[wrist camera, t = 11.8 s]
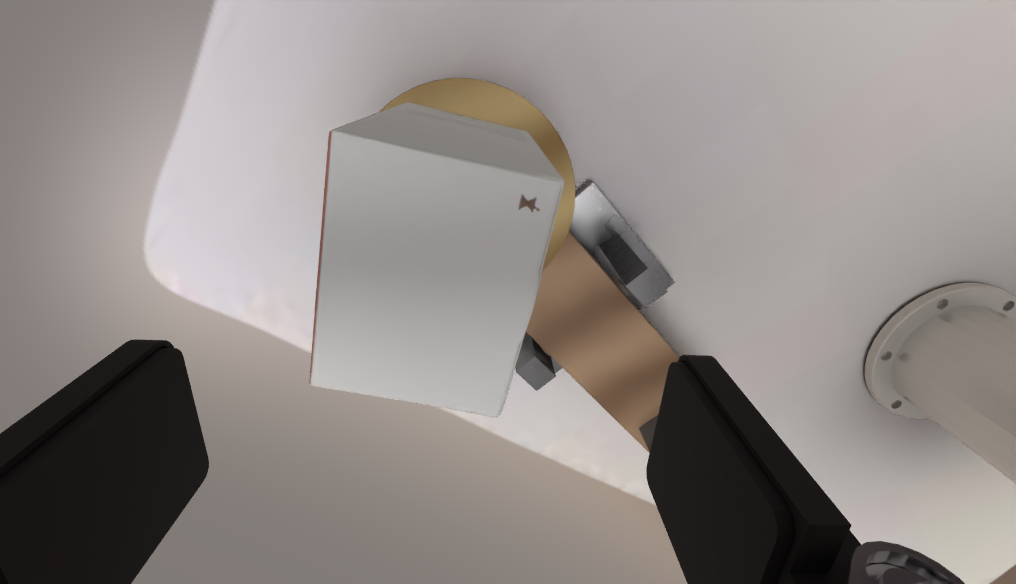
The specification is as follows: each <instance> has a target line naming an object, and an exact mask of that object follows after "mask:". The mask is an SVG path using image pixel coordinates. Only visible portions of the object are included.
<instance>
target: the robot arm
mask: <svg viewBox="0 0 1016 584" xmlns="http://www.w3.org/2000/svg"><path fill="white" fill-rule="evenodd" d="M865 380H866V384H867V388H868V390H869V391H870V393H871V395H872V396H873V397H874V398H875V399H876V400H877V401H878V402H879V403H880V404H881V405H882V406H883V407H885V408H886V409H887V410H888V411H890V412H892V413H894V414H897V415H899V416H902V417H907V418H912V419H927V418H930V419H932V420H933V421H934V422H936V423H937V424H938V425H940V426H941V427H942V428H943V429H945V430H946V431H947V432H949V433H950V434H951V435H953V436H954V437H955V438H957V439H958V440H959V441H960V442H962V443H963V444H964V445H966V446H967V447H968V448H970V449H971V450H972V451H974V452H975V453H976V454H977V455H979V456H980V457H981V458H983V459H984V460H985V461H987V462H988V463H989V464H991V465H992V466H993V467H994V468H996V469H997V470H998V471H1000V472H1001V473H1002V474H1004V475H1005V476H1006V477H1008V478H1009V479H1010V480H1011V481H1013V482H1014V483H1015V484H1016V298H1015V297H1014V296H1013V295H1011V294H1010V293H1008V292H1006V291H1003V290H1001V289H999V288H996V287H994V286H990V285H986V284H982V283H960V284H953V285H949V286H945V287H942V288H939V289H936V290H933V291H931V292H929V293H927V294H925V295H923V296H920V297H919V298H917V299H916V300H914V301H912V302H911V303H909V304H908V305H906V306H905V307H904V308H902V309H901V310H900V311H899V312H898V313H896V314H895V315H894V316H893V317H892V318H891V319H890V320H889V321H888V322H887V323H886V324H885V326H884V327H883V328H882V329H881V331H880V332H879V334H878V335H877V337H876V338H875V339H874V341H873V343H872V346H871V348H870V350H869V352H868V355H867V359H866V363H865ZM208 467H209V460H208V455H207V451H206V447H205V443H204V439H203V435H202V431H201V427H200V423H199V419H198V415H197V410H196V406H195V402H194V398H193V394H192V390H191V386H190V382H189V378H188V374H187V370H186V366H185V362H184V358H183V355H182V352H181V351H180V350H178V349H176V348H174V346H173V345H172V344H171V343H170V342H168V341H166V340H165V341H164V340H130V341H128V342H126V343H125V344H123V345H122V346H121V347H119V348H118V349H116V350H115V351H114V352H112V353H111V354H110V355H108V356H107V357H105V358H104V359H103V360H101V361H100V362H98V363H97V364H96V365H94V366H93V367H92V368H90V369H89V370H87V371H86V372H85V373H83V374H82V375H81V376H79V377H78V378H76V379H75V380H74V381H72V382H71V383H70V384H68V385H67V386H65V387H64V388H63V389H61V390H60V391H58V392H57V393H56V394H54V395H53V396H52V397H51V398H49V399H47V400H46V401H45V402H43V403H42V404H41V405H39V406H38V407H36V408H35V409H34V410H33V411H31V412H30V413H28V414H27V415H25V416H24V417H23V418H21V419H20V420H19V421H17V422H16V423H14V424H13V425H12V426H10V427H9V428H8V429H6V430H5V431H3V432H2V433H1V434H0V584H131V583H132V581H133V580H134V579H135V577H136V576H137V574H138V573H139V571H140V570H141V569H142V567H143V566H144V565H145V563H146V562H147V560H148V559H149V557H150V556H151V554H152V553H153V552H154V550H155V549H156V547H157V546H158V545H159V543H160V542H161V540H162V539H163V538H164V536H165V535H166V533H167V532H168V531H169V529H170V528H171V526H172V525H173V524H174V522H175V521H176V519H177V518H178V516H179V515H180V514H181V512H182V511H183V509H184V508H185V507H186V505H187V503H188V502H189V501H190V499H191V498H192V497H193V495H194V494H195V492H196V491H197V489H198V488H199V487H200V485H201V484H202V483H203V481H204V479H205V477H206V475H207V472H208ZM647 481H648V485H649V488H650V490H651V493H652V495H653V498H654V500H655V503H656V506H657V508H658V510H659V513H660V515H661V518H662V521H663V523H664V525H665V528H666V531H667V533H668V536H669V538H670V540H671V543H672V546H673V548H674V551H675V553H676V556H677V558H678V561H679V563H680V566H681V568H682V571H683V573H684V576H685V578H686V581H687V583H688V584H965V583H964V582H963V581H962V580H961V579H960V578H959V577H957V576H956V575H954V574H953V573H952V572H950V571H949V570H948V569H946V568H945V567H943V566H942V565H941V564H939V563H938V562H936V561H934V560H932V559H930V558H928V557H927V556H925V555H923V554H921V553H919V552H917V551H915V550H912V549H909V548H907V547H904V546H901V545H899V544H894V543H888V542H883V541H876V542H866V543H864V544H862V545H861V544H860V543H859V541H858V540H857V539H856V538H855V536H854V535H853V534H852V533H851V531H850V530H849V529H850V527H851V524H850V523H849V522H848V520H847V519H846V518H845V517H844V516H843V514H842V513H841V512H840V511H839V509H838V508H837V507H836V506H835V505H834V503H833V502H832V501H831V500H830V498H829V497H828V496H827V495H826V494H825V492H824V491H823V490H822V489H821V487H820V486H819V485H818V484H817V483H816V481H815V480H814V479H813V478H812V476H811V475H810V474H809V473H808V472H807V470H806V469H805V468H804V467H803V465H802V464H801V463H800V462H799V461H798V459H797V458H796V457H795V456H794V454H793V453H792V452H791V451H790V450H789V448H788V447H787V446H786V445H785V443H784V442H783V441H782V440H781V439H780V437H779V436H778V435H777V434H776V432H775V431H774V430H773V429H772V428H771V426H770V425H769V424H768V423H767V421H766V420H765V419H764V418H763V417H762V415H761V414H760V413H759V412H758V410H757V409H756V408H755V407H754V406H753V404H752V403H751V402H750V401H749V399H748V398H747V397H746V396H745V395H744V393H743V392H742V391H741V390H740V388H739V387H738V386H737V385H736V384H735V382H734V381H733V380H732V379H731V377H730V376H729V375H728V374H727V373H726V371H725V370H724V369H723V368H722V366H721V365H720V364H719V363H718V362H717V360H716V359H715V358H714V357H712V356H699V355H682V356H681V357H680V358H679V359H678V362H672V363H671V364H670V366H669V369H668V373H667V377H666V382H665V386H664V391H663V395H662V400H661V404H660V409H659V414H658V418H657V423H656V427H655V432H654V436H653V441H652V445H651V450H650V454H649V459H648V463H647Z"/></svg>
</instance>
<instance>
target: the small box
mask: <svg viewBox="0 0 1016 584" xmlns="http://www.w3.org/2000/svg"><path fill="white" fill-rule="evenodd" d="M564 184H565V182H564V179H563V178H562V176H561V175H560V174H559V173H558V171H557V170H556V169H555V167H554V166H553V165H552V163H551V162H550V161H549V159H548V158H547V157H546V155H545V154H544V153H543V151H542V150H541V149H540V147H539V146H538V145H537V143H536V142H535V141H534V139H533V138H532V137H531V135H530V134H529V133H528V132H527V131H525V130H521V129H516V128H512V127H508V126H504V125H500V124H496V123H492V122H488V121H484V120H479V119H475V118H471V117H467V116H463V115H459V114H455V113H451V112H447V111H443V110H439V109H435V108H431V107H427V106H423V105H418V104H414V103H410V102H407V103H404V104H401V105H398V106H395V107H392V108H389V109H387V110H384V111H382V112H379V113H376V114H373V115H371V116H368V117H365V118H363V119H360V120H357V121H355V122H352V123H349V124H346V125H344V126H341V127H339V128H336V129H334V130H331V131H330V133H329V140H328V152H327V164H326V176H325V189H324V202H323V215H322V228H321V240H320V253H319V265H318V277H317V289H316V301H315V317H314V329H313V343H312V356H311V368H310V381H309V383H310V384H311V385H313V386H316V387H322V388H328V389H334V390H340V391H346V392H353V393H359V394H365V395H370V396H376V397H382V398H389V399H394V400H400V401H406V402H413V403H419V404H425V405H431V406H436V407H442V408H447V409H453V410H458V411H464V412H470V413H475V414H481V415H486V416H490V417H498V416H499V415H500V414H501V412H502V409H503V406H504V403H505V399H506V396H507V393H508V390H509V386H510V383H511V380H512V376H513V373H514V369H515V366H516V362H517V359H518V356H519V353H520V349H521V346H522V342H523V339H524V336H525V332H526V329H527V327H528V324H529V321H530V318H531V315H532V312H533V308H534V304H535V300H536V296H537V293H538V290H539V286H540V281H541V275H542V270H543V265H544V261H545V257H546V253H547V250H548V246H549V242H550V238H551V235H552V231H553V227H554V223H555V219H556V216H557V212H558V208H559V204H560V200H561V196H562V193H563V189H564Z"/></svg>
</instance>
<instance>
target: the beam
mask: <svg viewBox="0 0 1016 584" xmlns="http://www.w3.org/2000/svg"><path fill="white" fill-rule="evenodd" d="M407 102H410V103H414V104H418V105H423V106H427V107H431V108H435V109H439V110H443V111H447V112H451V113H455V114H459V115H463V116H467V117H471V118H475V119H479V120H484V121H488V122H492V123H496V124H500V125H504V126H508V127H512V128H516V129H521V130H525V131H527V132H528V133H529V134H530V135H531V137H532V138H533V139H534V141H535V142H536V143H537V145H538V146H539V147H540V149H541V150H542V151H543V153H544V154H545V155H546V157H547V158H548V159H549V161H550V162H551V163H552V165H553V166H554V167H555V169H556V170H557V171H558V173H559V174H560V175H561V176H562V178H563V179H564V182H565V184H564V189H563V193H562V196H561V200H560V204H559V208H558V212H557V216H556V219H555V223H554V227H553V231H552V235H551V238H550V242H549V246H548V250H547V253H546V257H545V261H544V265H543V270H542V275H541V281H540V286H539V290H538V293H537V296H536V300H535V304H534V308H533V312H532V315H531V318H530V321H529V324H528V327H527V329H526V332H527V333H528V334H529V335H530V336H531V337H532V338H533V339H534V340H535V341H536V342H537V343H538V344H539V345H540V347H541V348H542V350H543V351H544V352H545V353H546V354H547V355H549V356H551V357H552V358H553V359H555V360H556V361H557V362H558V363H559V364H560V365H561V366H562V367H563V368H564V369H565V370H566V371H567V372H568V373H569V374H570V375H571V376H572V377H573V378H574V379H575V380H576V381H577V382H578V383H579V384H580V385H581V386H582V387H583V388H584V389H585V390H586V391H587V392H588V393H589V394H590V395H591V396H592V397H593V398H594V399H595V400H596V401H597V402H598V403H599V404H600V405H601V406H602V407H603V408H604V409H605V410H606V411H607V412H608V413H609V414H610V415H611V416H612V417H613V418H614V419H615V420H616V421H617V422H618V423H620V424H621V425H622V426H623V427H624V428H625V429H626V430H627V431H628V432H629V433H630V434H631V435H632V436H633V437H634V438H635V439H636V440H637V441H638V442H639V443H640V444H641V445H642V446H643V447H644V448H645V449H646V450H647V451H648V452H649V453H650V450H651V445H652V441H653V436H654V432H655V427H656V423H657V418H658V414H659V409H660V404H661V400H662V395H663V391H664V386H665V382H666V377H667V373H668V369H669V366H670V364H671V363H672V362H678V359H679V358H680V356H679V355H678V354H677V353H676V352H675V351H674V350H673V348H672V347H671V346H670V345H669V344H668V343H667V342H666V340H665V339H664V338H663V337H662V336H661V335H660V334H659V332H658V331H657V330H656V329H655V328H654V327H653V326H652V325H651V323H650V322H649V321H648V320H647V319H646V318H645V317H644V315H643V314H642V313H641V312H640V311H639V310H638V309H637V307H636V306H635V305H634V304H633V303H632V302H631V301H630V299H629V298H628V297H627V296H628V295H629V294H630V292H629V291H628V289H627V288H626V287H625V286H624V285H623V283H622V282H621V281H620V280H619V279H617V280H616V281H615V282H614V281H613V280H612V279H611V278H610V277H609V276H608V274H607V273H606V272H605V271H604V270H603V269H602V268H601V266H600V265H599V264H598V263H597V262H596V261H595V260H594V258H593V257H592V256H591V255H590V254H589V253H588V252H587V250H586V249H585V248H584V247H583V246H582V245H581V244H580V242H579V241H578V240H577V239H576V238H575V237H574V236H573V234H572V233H571V232H570V231H569V228H570V225H571V222H572V218H573V212H574V207H575V181H574V174H573V169H572V165H571V161H570V158H569V155H568V153H567V150H566V147H565V145H564V143H563V141H562V140H561V138H560V136H559V134H558V132H557V131H556V130H555V128H554V127H553V125H552V124H551V123H550V121H549V120H548V119H547V118H546V117H545V116H544V115H543V114H542V113H541V111H540V110H539V109H537V108H536V107H535V106H534V105H532V104H531V103H530V102H529V101H528V100H526V99H525V98H523V97H521V96H520V95H518V94H517V93H515V92H513V91H511V90H509V89H507V88H504V87H502V86H500V85H497V84H494V83H490V82H487V81H483V80H476V79H469V78H449V79H443V80H436V81H432V82H429V83H425V84H422V85H419V86H417V87H415V88H412V89H410V90H408V91H406V92H404V93H403V94H401V95H400V96H398V97H397V98H395V99H394V100H392V101H391V102H390V103H389V104H387V105H386V106H385V107H384V108H383V109H382V110H381V111H380V112H382V111H384V110H387V109H389V108H392V107H395V106H398V105H401V104H404V103H407Z"/></svg>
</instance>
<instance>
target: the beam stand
mask: <svg viewBox="0 0 1016 584" xmlns="http://www.w3.org/2000/svg"><path fill="white" fill-rule="evenodd" d="M569 231H570V232H571V233H572V234H573V236H574V237H575V238H576V239H577V240H578V241H579V242H580V244H581V245H582V246H583V247H584V248H585V249H586V250H587V252H588V253H589V254H590V255H591V256H592V257H593V258H594V260H595V261H596V262H597V263H598V264H599V265H600V266H601V268H602V269H603V270H604V271H605V272H606V273H607V274H608V276H609V277H610V278H611V279H612V280H613V281H614V282H615V281H616V280H617V279H619V280H620V281H621V282H622V283H623V285H624V286H625V287H626V288H627V289H628V291H629V292H630V294H629V295H628V296H627V297H628V298H629V299H630V301H631V302H632V303H633V304H634V305H635V306H636V307H637V309H638V310H639V309H640V308H642V307H643V306H644V307H645V308H647V307H648V306H649V305H651V304H652V303H653V302H655V301H656V300H657V299H658V298H660V297H661V296H662V295H664V294H665V293H666V292H667V290H666V289H667V288H668V287H669V286H671V285H672V284H673V283H675V282H674V281H673V279H672V278H671V277H670V276H669V275H668V273H667V272H666V271H665V270H664V268H663V267H662V266H661V265H660V264H659V262H658V261H657V260H656V259H655V257H654V256H653V255H652V254H651V253H650V251H649V250H648V249H647V248H646V246H645V245H644V244H643V243H642V242H641V240H640V239H639V238H638V237H637V235H636V234H635V233H634V232H633V231H632V229H631V228H630V227H629V226H628V224H627V223H626V222H625V221H624V220H623V218H622V217H621V216H620V215H619V213H618V212H617V211H616V210H615V208H614V207H613V206H612V205H611V204H610V202H609V201H608V200H607V199H606V197H605V196H604V195H603V194H602V193H601V191H600V190H599V189H598V188H597V186H596V185H595V184H594V183H593V182H592V181H591V180H590V181H588V182H587V183H586V184H585V185H584V186H583V187H581V188H580V189H579V190H578V191H577V192H576V193H575V207H574V212H573V218H572V222H571V225H570V228H569ZM515 368H516V372H517V373H518V374H519V375H520V376H521V377H522V378H523V379H524V380H525V381H526V382H528V383H529V384H530V385H531V386H532V387H533V388H534V389H535V390H536V391H537V390H538V389H540V388H541V387H542V386H544V385H545V384H546V383H548V382H549V381H550V380H552V379H553V378H554V377H556V375H555V373H556V372H558V371H559V370H560V369H562V368H563V367H562V366H561V365H560V364H559V363H558V362H557V361H556V360H555V359H553V358H552V357H551V356H549V355H547V354H546V353H545V352H544V351H543V350H542V348H541V347H540V345H539V344H538V343H537V342H536V341H535V340H534V339H533V338H532V337H531V336H530V335H529V334H528V333H527V332H525V336H524V339H523V342H522V346H521V349H520V353H519V356H518V359H517V362H516V366H515Z"/></svg>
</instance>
